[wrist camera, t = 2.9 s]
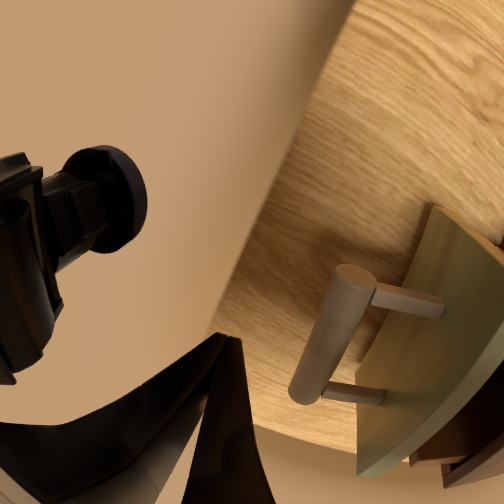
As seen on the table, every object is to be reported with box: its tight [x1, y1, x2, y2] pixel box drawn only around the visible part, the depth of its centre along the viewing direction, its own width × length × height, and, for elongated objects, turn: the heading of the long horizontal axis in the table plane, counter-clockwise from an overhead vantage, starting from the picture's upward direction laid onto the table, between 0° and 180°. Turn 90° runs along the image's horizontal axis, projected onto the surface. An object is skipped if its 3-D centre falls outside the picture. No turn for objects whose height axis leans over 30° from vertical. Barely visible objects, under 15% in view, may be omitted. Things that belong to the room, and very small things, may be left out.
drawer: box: [288, 205, 504, 477], centre depth 9 cm, size 17×10×7 cm, turn 81°
